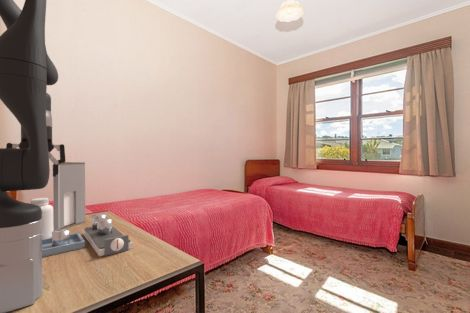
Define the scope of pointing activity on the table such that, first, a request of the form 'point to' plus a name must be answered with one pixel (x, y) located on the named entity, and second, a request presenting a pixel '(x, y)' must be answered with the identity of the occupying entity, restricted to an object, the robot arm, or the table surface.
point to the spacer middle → (104, 226)
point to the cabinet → (69, 195)
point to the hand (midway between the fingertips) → (37, 177)
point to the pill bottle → (45, 216)
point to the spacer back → (97, 217)
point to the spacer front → (60, 237)
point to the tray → (75, 244)
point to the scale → (107, 241)
